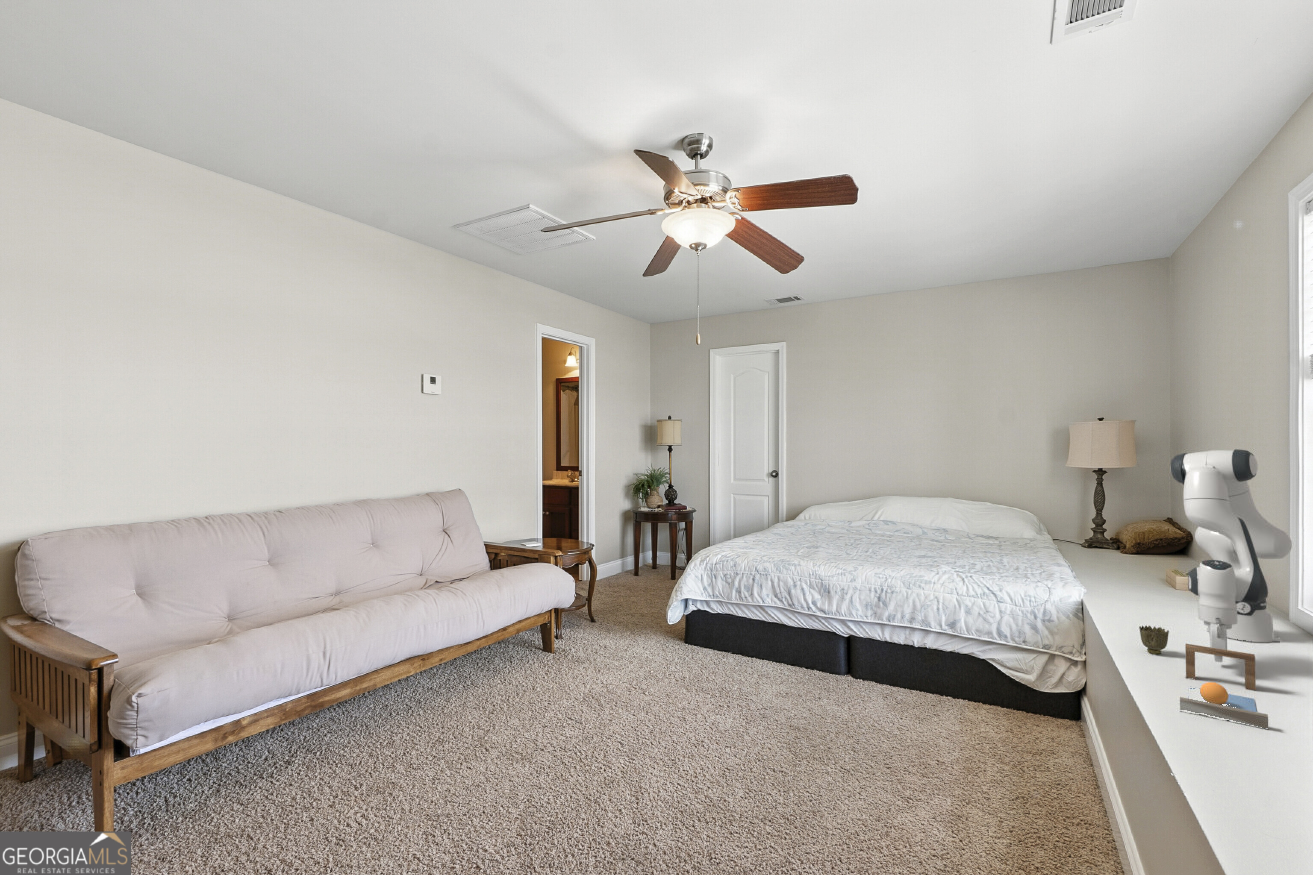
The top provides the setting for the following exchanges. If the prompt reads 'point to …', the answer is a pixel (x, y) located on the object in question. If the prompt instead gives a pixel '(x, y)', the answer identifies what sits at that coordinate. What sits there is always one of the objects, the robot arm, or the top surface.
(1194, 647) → the bridge
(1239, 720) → the wall
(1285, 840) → the top surface
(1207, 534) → the robot arm
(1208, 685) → the ball
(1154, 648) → the cup
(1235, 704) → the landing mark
